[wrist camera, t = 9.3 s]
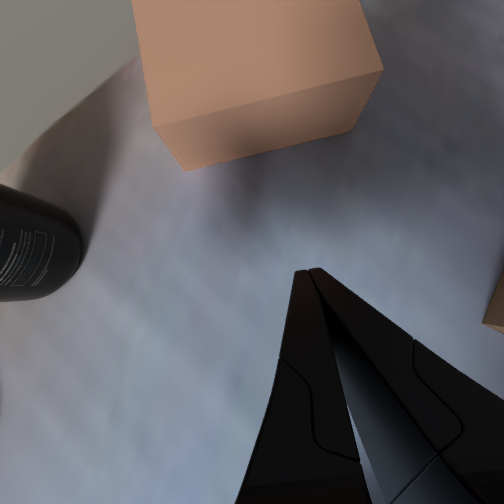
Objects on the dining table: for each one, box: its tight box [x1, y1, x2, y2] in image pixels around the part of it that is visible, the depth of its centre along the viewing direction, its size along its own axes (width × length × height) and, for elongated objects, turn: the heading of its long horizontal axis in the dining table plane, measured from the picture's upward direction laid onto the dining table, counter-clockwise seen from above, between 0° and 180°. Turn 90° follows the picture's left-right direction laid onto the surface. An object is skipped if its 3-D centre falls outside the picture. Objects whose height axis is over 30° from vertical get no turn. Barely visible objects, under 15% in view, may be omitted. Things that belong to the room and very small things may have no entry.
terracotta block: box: [132, 0, 384, 172], centre depth 15 cm, size 5×12×9 cm
